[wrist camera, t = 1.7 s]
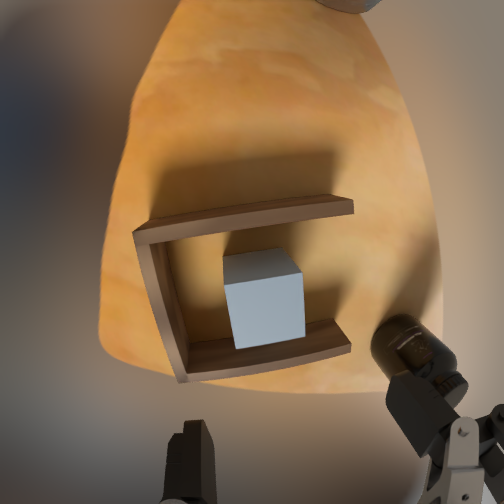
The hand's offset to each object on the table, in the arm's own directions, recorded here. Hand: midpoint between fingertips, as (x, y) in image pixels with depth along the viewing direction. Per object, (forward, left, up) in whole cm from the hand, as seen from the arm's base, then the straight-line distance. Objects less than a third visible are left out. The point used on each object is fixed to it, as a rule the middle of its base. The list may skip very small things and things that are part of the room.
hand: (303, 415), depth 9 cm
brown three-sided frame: (0, 0, -15) cm, 15 cm away
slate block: (0, 0, -15) cm, 15 cm away
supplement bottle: (+10, +15, -15) cm, 24 cm away
